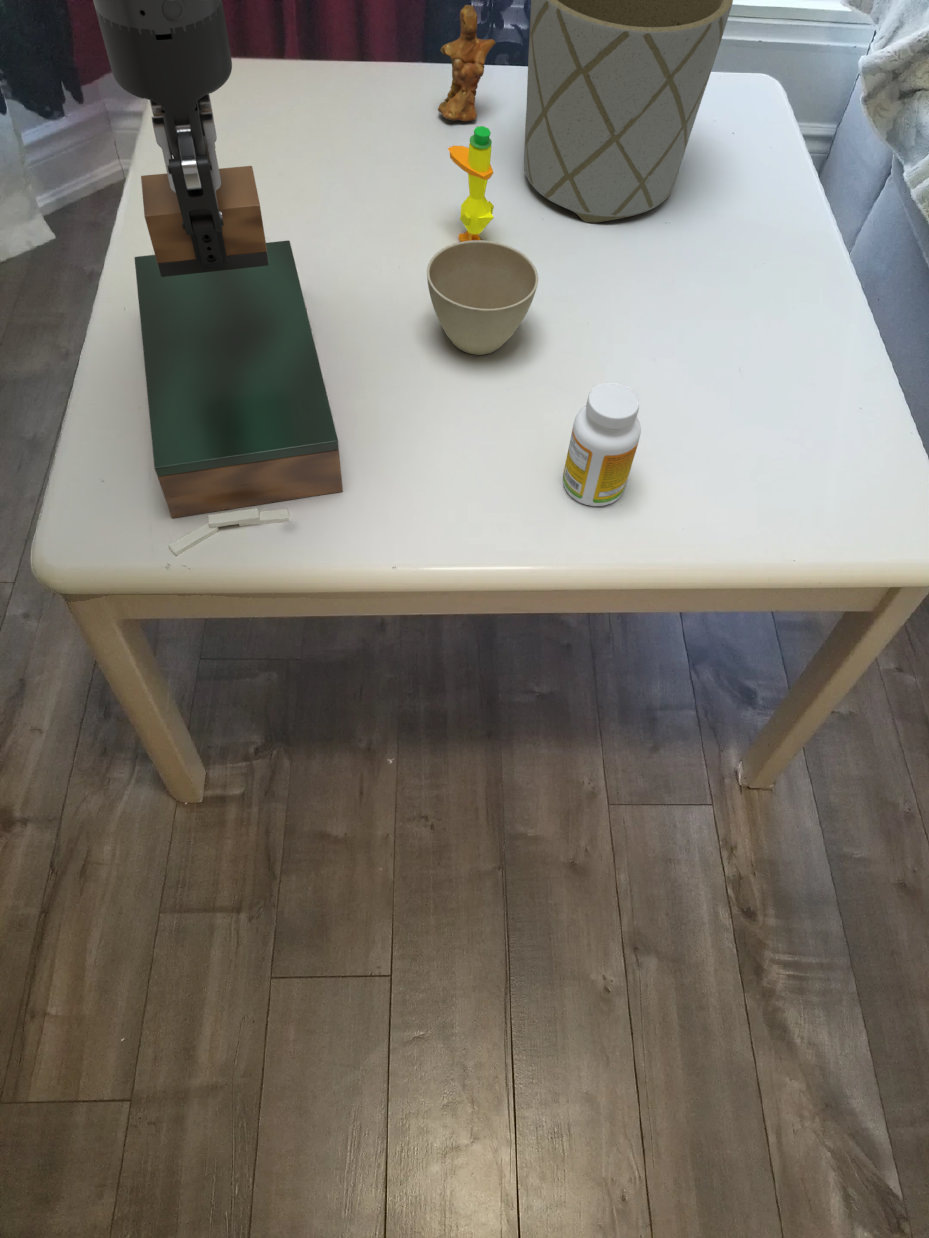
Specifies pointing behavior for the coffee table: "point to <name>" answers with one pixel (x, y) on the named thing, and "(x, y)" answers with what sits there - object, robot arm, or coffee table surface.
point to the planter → (615, 98)
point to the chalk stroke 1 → (192, 539)
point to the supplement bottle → (602, 445)
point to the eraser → (238, 230)
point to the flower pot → (480, 293)
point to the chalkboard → (234, 387)
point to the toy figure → (475, 182)
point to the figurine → (465, 68)
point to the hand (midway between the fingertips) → (209, 243)
